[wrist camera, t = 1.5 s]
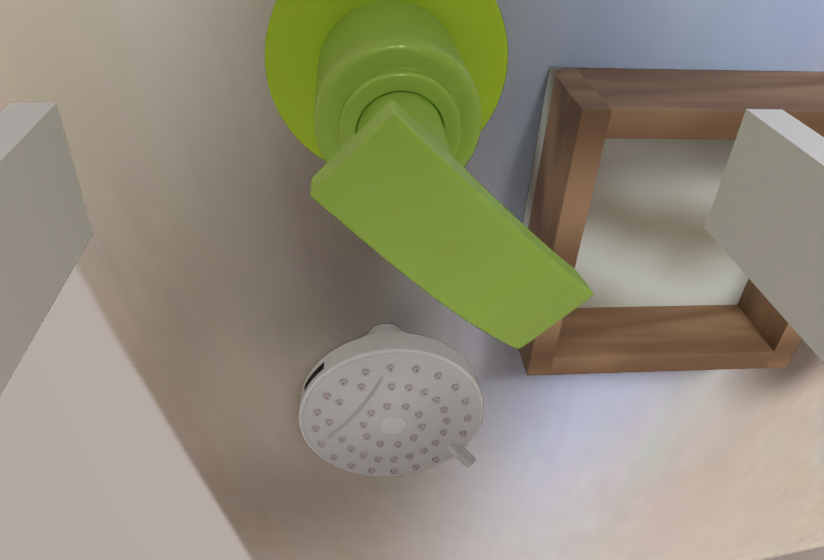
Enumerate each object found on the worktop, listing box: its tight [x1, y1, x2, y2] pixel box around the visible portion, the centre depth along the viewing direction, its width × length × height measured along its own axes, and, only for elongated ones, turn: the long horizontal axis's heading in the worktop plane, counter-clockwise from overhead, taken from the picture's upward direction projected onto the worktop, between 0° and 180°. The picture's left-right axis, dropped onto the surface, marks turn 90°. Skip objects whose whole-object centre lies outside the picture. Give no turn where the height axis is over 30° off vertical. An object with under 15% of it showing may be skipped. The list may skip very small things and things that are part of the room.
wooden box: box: [519, 67, 824, 375], centre depth 33 cm, size 14×14×5 cm
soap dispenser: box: [265, 0, 594, 349], centre depth 19 cm, size 6×7×20 cm
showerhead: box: [299, 324, 484, 477], centre depth 35 cm, size 9×7×10 cm
